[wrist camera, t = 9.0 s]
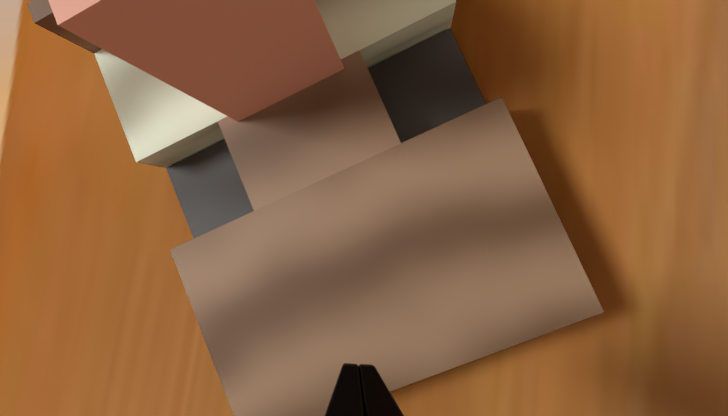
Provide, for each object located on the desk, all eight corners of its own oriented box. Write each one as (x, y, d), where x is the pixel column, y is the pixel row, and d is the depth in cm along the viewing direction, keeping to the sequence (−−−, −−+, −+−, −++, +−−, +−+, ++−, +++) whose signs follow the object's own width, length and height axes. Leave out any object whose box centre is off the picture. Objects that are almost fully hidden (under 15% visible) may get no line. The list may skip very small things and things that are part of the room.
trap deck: (577, 298, 17) (652, 336, 12) (266, 416, 20) (210, 493, 14) (394, -89, 19) (387, -210, 14) (125, 57, 21) (27, 3, 16)
